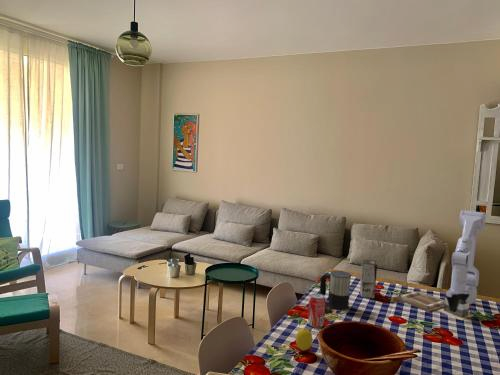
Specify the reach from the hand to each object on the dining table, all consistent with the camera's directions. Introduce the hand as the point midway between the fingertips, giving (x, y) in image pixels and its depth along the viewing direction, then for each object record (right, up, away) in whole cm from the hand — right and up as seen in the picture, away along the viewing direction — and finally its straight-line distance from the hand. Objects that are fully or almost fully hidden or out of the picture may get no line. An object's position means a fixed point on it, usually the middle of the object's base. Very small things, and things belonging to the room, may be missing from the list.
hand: (455, 310), depth 171 cm
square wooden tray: (-9, -1, +12) cm, 15 cm away
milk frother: (-53, 0, +3) cm, 53 cm away
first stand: (0, -3, 0) cm, 3 cm away
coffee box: (-32, +1, +22) cm, 39 cm away
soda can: (-63, -1, -16) cm, 65 cm away
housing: (0, -1, 0) cm, 1 cm away
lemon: (-71, -3, -36) cm, 80 cm away
